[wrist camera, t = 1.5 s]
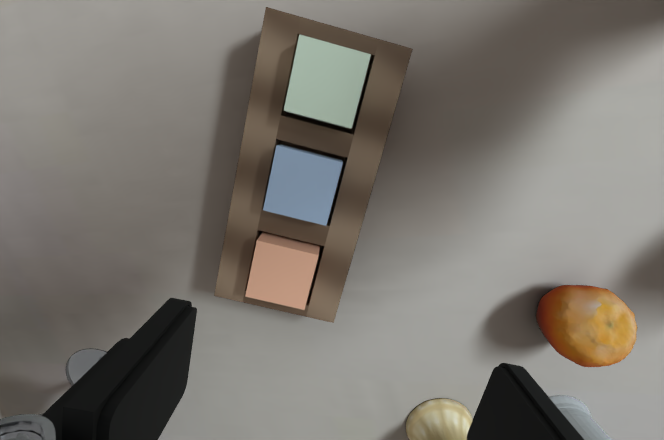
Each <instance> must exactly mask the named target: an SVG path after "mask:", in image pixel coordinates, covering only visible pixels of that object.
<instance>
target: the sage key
mask: <svg viewBox="0 0 664 440" xmlns="http://www.w3.org/2000/svg"><path fill="white" fill-rule="evenodd" d="M370 57H371V54H368V53H364V52H361V51H357V50H353V49H350V48H346V47H343V46H339V45H336V44H332V43H329V42H325V41H322V40H318V39H314V38H311V37H307V36H304V35H300V34H299V38H298V43H297V48H296V53H295V58H294V63H293V68H292V72H291V77H290V82H289V87H288V92H287V97H286V101H285V106H284V111H286V112H288V113H291V114H295V115H299V116H302V117H306V118H310V119H314V120H318V121H321V122H325V123H329V124H333V125H336V126H340V127H344V128H348V129H352V126H353V122H354V118H355V114H356V110H357V106H358V103H359V99H360V95H361V91H362V87H363V83H364V80H365V76H366V72H367V68H368V64H369V60H370Z"/></svg>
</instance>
